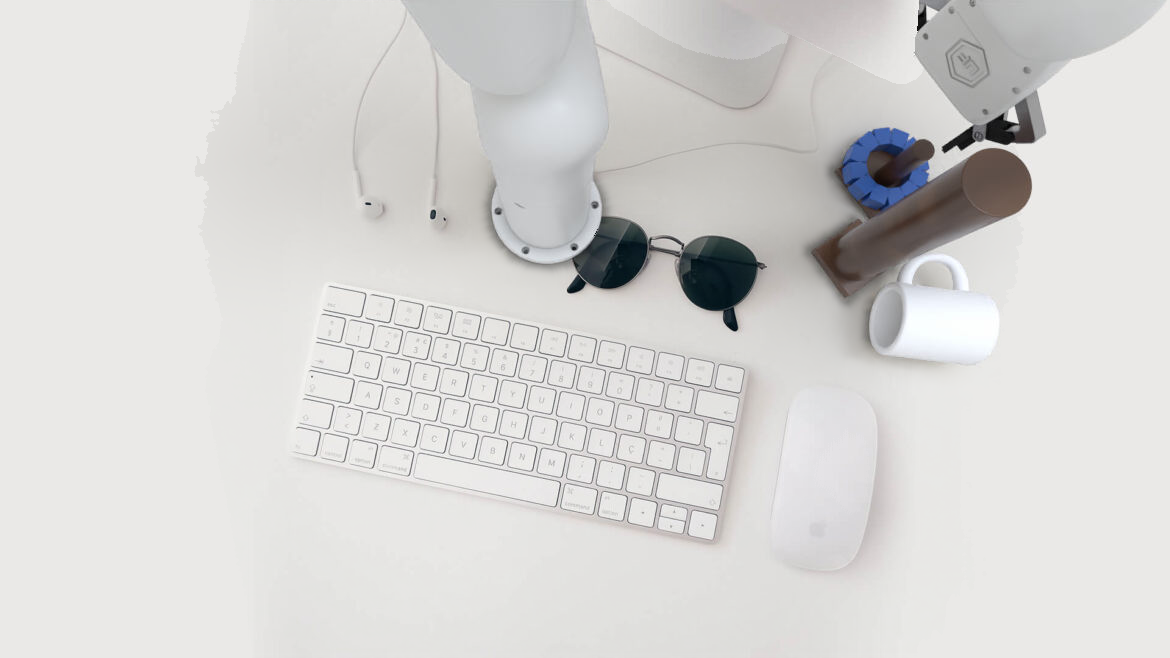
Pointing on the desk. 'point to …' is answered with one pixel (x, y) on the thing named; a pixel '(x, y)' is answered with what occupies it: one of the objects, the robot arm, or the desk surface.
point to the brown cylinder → (928, 218)
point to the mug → (934, 318)
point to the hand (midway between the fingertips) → (923, 104)
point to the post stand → (893, 167)
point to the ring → (863, 182)
